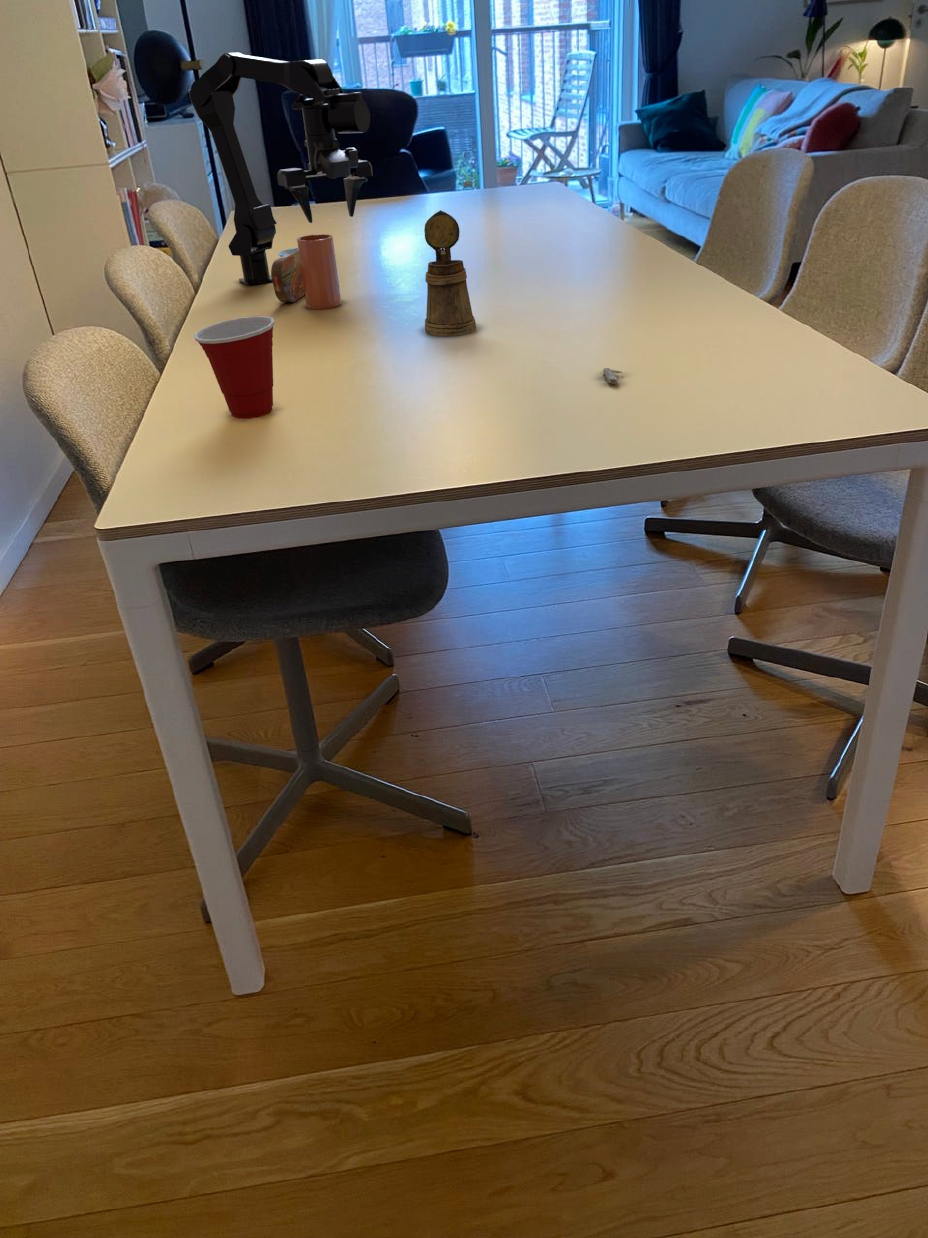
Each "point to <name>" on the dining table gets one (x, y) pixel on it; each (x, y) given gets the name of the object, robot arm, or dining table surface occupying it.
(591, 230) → the dining table surface
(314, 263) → the pot
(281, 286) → the tin
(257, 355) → the plastic cup
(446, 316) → the wooden mug
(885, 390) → the dining table surface
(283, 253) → the saucer
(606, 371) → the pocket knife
